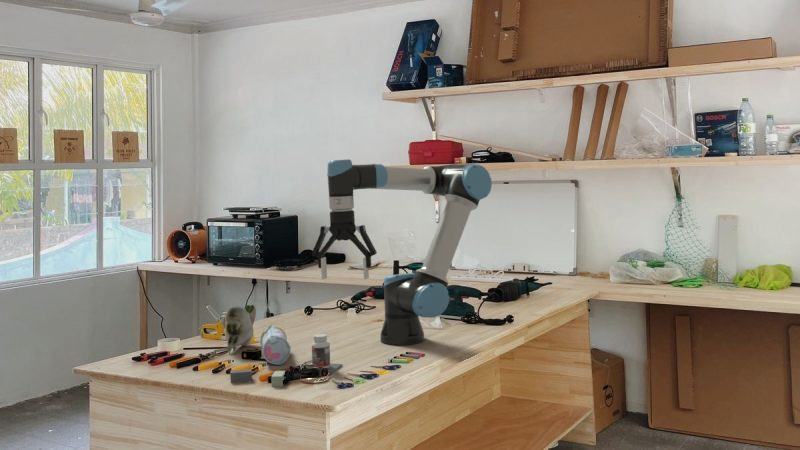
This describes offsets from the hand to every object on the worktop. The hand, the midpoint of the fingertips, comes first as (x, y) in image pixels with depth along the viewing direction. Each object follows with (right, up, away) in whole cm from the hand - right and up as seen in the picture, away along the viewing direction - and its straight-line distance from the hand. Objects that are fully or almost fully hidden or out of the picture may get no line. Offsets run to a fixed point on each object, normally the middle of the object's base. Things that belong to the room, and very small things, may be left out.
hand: (345, 278), depth 251 cm
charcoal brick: (-29, -29, -17) cm, 44 cm away
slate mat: (-7, -27, -7) cm, 29 cm away
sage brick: (-17, -29, -21) cm, 39 cm away
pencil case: (-23, -26, +9) cm, 36 cm away
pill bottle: (-7, -27, -7) cm, 28 cm away
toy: (-37, -25, +25) cm, 51 cm away
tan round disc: (-8, -28, -18) cm, 34 cm away
